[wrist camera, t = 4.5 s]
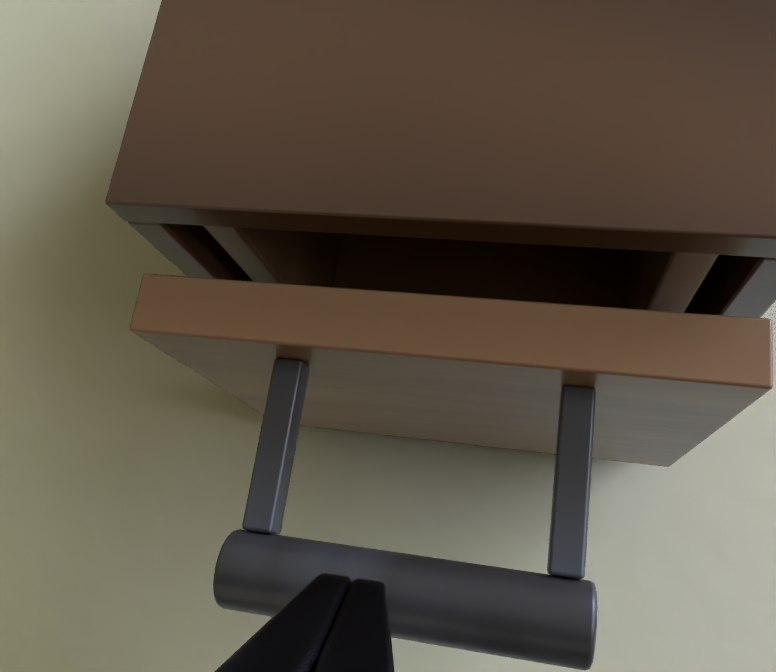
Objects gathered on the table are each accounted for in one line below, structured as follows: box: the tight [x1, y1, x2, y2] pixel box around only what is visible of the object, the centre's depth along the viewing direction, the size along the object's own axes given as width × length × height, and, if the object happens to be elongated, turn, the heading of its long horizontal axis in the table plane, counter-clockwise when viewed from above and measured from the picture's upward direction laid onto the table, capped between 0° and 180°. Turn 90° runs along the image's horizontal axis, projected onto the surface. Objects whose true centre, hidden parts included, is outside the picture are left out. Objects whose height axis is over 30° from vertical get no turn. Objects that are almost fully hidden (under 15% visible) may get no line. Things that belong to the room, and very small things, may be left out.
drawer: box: [130, 226, 773, 670], centre depth 18 cm, size 17×11×9 cm, turn 171°
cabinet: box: [105, 0, 776, 318], centre depth 20 cm, size 14×13×11 cm
